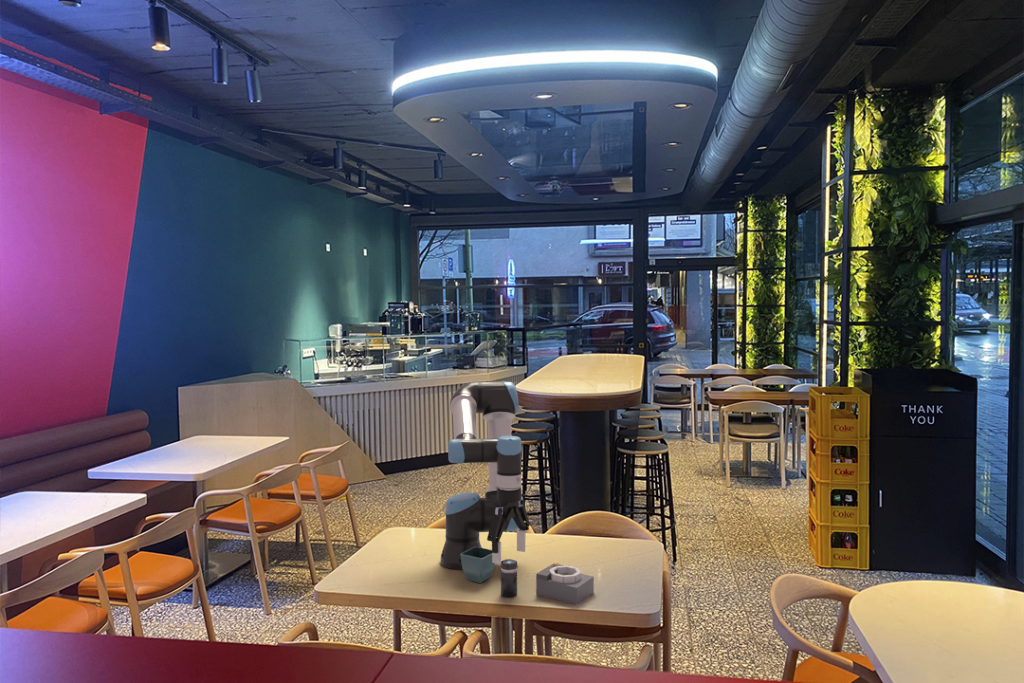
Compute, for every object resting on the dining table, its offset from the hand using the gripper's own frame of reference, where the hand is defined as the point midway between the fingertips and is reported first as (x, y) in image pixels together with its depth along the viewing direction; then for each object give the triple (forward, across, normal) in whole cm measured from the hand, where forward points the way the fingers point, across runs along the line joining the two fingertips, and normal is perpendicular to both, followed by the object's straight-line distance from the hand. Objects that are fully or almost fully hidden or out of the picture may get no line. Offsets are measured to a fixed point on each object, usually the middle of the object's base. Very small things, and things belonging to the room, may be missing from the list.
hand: (509, 557), depth 217 cm
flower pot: (+12, +6, +15) cm, 20 cm away
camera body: (+12, +10, -14) cm, 21 cm away
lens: (+12, 0, 0) cm, 12 cm away
